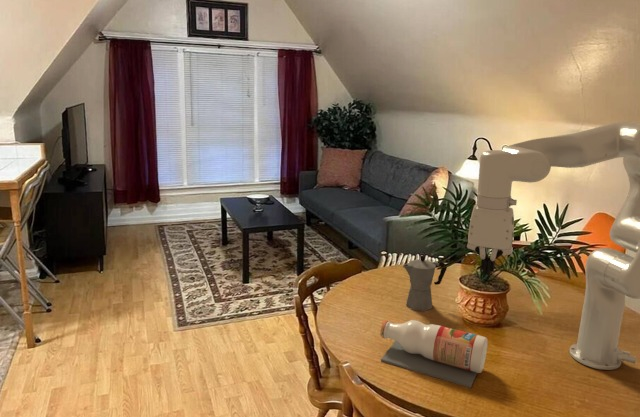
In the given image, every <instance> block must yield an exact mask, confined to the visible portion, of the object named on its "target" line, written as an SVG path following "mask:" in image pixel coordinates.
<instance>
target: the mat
mask: <svg viewBox="0 0 640 417" xmlns="http://www.w3.org/2000/svg"><path fill="white" fill-rule="evenodd" d="M380 361H381V362H383V363H387V364H389V365H393V366H397V367H399V368H403V369H407V370H410V371H413V372H416V373H421V374H423V375H427V376H430V377H432V378H436V379H440V380H443V381H446V382H449V383H453V384H457V385H460V386H463V387H467V388H470V389H471V388H472V386H473V384H474V382H475V379H476V376H477V375H478V373H476V372H472V371H469V370H465V369H462V368H458V367H455V366H451V365H448V364H444V363H441V362H437V361H433V360H430V359H427V358H425V357H424V356H422V355H421V354H411V353H408V352H406V351H405V350H404V349H403V348H402V347H401V345H400V344H399V343H397V342H396V341H394V342H393V343H392V345H391V346H390V347H389V349H387V351H386V352H385V354H383V356H382V357H381V358H380Z"/></svg>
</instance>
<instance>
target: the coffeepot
mask: <svg viewBox="0 0 640 417" xmlns="http://www.w3.org/2000/svg"><path fill="white" fill-rule="evenodd" d="M438 262H440V263H438ZM444 265H446V263H445V262H444V261H430V260H427V259H426V256H425V255H420V259H417V258H416V259H413V260H409V261H408V262H407V263H405V264H403V266H402V267H403V268H404V269H405V270H406V272H407V274H408V276H409V283H410V287H409V291H408V295H407V299H406V306H407V307H408V309H411V310H412V311H417V310H418V312H426V311H431V309H433V301H432V300H433V299H432V288H431V286H432V284H434V285H437V286H438V285H440V284H441V283H442V281H443V278H444V276H445V273H446V271H447V269H448V266H447V267H445V268H442V267H443V266H444ZM437 268H438V269H439V268H441V269H440V272H439V275H438V277H437V281H434V280H433V279H434V274H435V270H436V269H437ZM433 281H434V283H433Z"/></svg>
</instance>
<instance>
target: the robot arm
mask: <svg viewBox="0 0 640 417" xmlns="http://www.w3.org/2000/svg"><path fill="white" fill-rule="evenodd" d="M619 158H622V159H623V160H622V161H623V162H622V164H623V167H624V169H625V172H626V174H627V177H628V182H629V190H628V194H627V196H626V198H625V200H624V202H623V205H622V206H621V208H620V210H619V212H618V213H617V215H616V217H615V219H614V221H613V223H612V225H611V227H610V230H609V237H610V240H611V241H612V242H613V243H614V244H615V245H618V246H619V247H622V248H623V249H626V250H629V251H630V252H633V253H635V256H634V257H633V256H631V255H630V254H626V253H624V252H622V251H619V250H616V249H614V248H610V247H600V248H596V249H595V250H593V251H592V252H590V254H589V255H588V256H587V259H586V261H585V268H584V269H585V292H584V299H583V306H582V309H581V310H582V311H581V318H580V324H579V328H578V329H579V330H578V336H577V341H576V342H577V343H573V344H572V345H570V347H569V355H570V356H571V357H572V358H573V360H575V361H576V362H579V363H580V364H582V365H584V366H586V367H590V368H593V369H597V370H603V371H605V370H606V371H610V370H613V371H614V370H617V369H618V368H620V367H621V365H622V361H625V362H627V363H631V364H636V363H637V362H636V361H637V356H635V355H631V351H629V350H628V351H627V350H622V349H621V348H619V338H620V333H621V329H622V328H621V327H622V322H623V316H624V312H625V306H626V297H627V298H631V299H634V300H640V123H639V122H627V121H618V122H613V123H612V122H611V123H610V124H605V125H601V126H598V127H594V128H590V129H589V128H588V129H585V130H582V131H578V132H574V133H569V134H560V135H556V136H555V135H554V136H549V137H548V136H547V137H541V138H535V139H530V140H525V141H521V142H517V143H513V144H510V145H507V146H506V147H504V148H503V149H502V150H500V149H496V150H495V149H494V150H493V149H492V150H484V151H483V152H482V153H481V154H480V158H479V171H478V181H477V182H478V185H477V197H476V198H477V199H476V204H474V205H473V208H472V212H471V214H470V215H471V217H470V220H469V221H470V222H469V227H468V235H467V241H468V242H467V244H466V248H467V249H469V250H472V251H475V253H476V254H478V256H479V258H480V259H481V260H480V261H481V264H480V271H482V275H483V276H485V275H487V276H489V277H490V276H491V274H492V272H493V273H494V271H495V267H496V266H495V265H496V260H497V259H499V257H501V256H507V255H512V254H513V251H514V250H513V242H514V233H515V230H514V229H515V215H514V209H513V207H512V206H517V203H518V202H517V201H518V200H517V199H514V198H512V186H513V185H512V184H513V182H520V183H521V182H522V183H529V184H530V183H537V182H540V181H542V180H544V179H545V178H546V177H547V176H548V175H549V174H550V172H551V167H552V168H553V167H554V168H566V169H568V168H569V169H574V168H577V169H578V168H585V167H588V166H592V165H595V164H598V163H602V162H607V161H610V160H613V159H619ZM488 249H491V253H490V256H489V254H488Z"/></svg>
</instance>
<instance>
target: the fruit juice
mask: <svg viewBox="0 0 640 417" xmlns="http://www.w3.org/2000/svg"><path fill="white" fill-rule="evenodd" d="M380 337H381V338H383V339H391V340H393V341H394V342H395V341H396V342H397V343H399V344H400V345H401V347H402V348H403V349H404V350H405V351H406V352H408V353H411V354H421V355H422V356H424V357H425V358H427V359H430V360H433V361H437V362H441V363H444V364H448V365H451V366H455V367H458V368H462V369H465V370H469V371H472V372H476V373H477V374H481V373H482V372H483V369H484V367H485V363H486V358H487V351H488V342H489V341H488V338H487V337H485V336H482V335H479V334H475V333H470V332H468V331H463V330H459V329H455V328H450V327H446V326H443V325H440V324H439V325H438V324H433V323H431V324H425V323H423V322H421V321H419V320H415V319H411V320H408V321H406V322H403V323H393V322H391V321H389V320H384V321H382V324H381V326H380Z"/></svg>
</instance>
